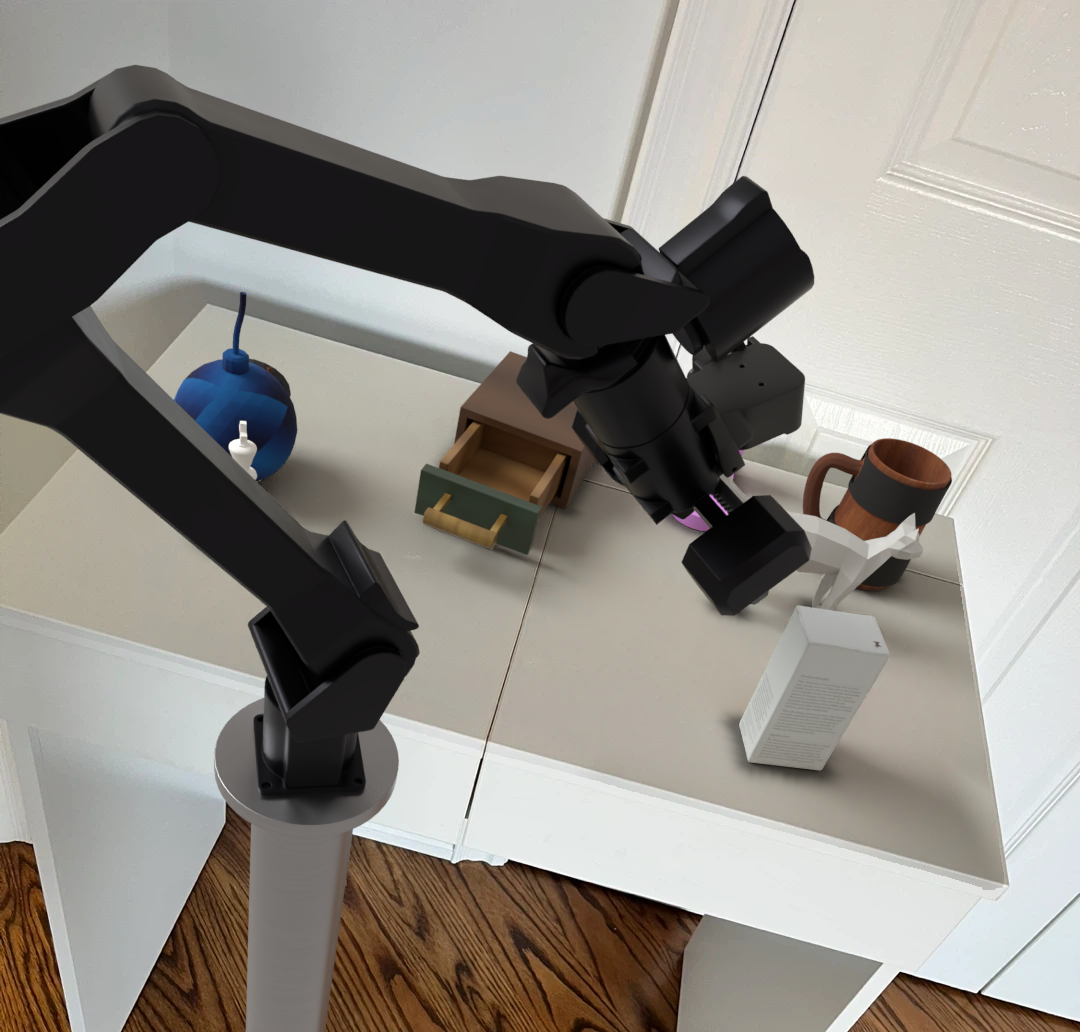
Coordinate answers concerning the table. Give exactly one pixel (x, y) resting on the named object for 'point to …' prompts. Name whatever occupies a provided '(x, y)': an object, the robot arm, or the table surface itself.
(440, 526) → the drawer
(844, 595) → the cat figurine
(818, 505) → the mug
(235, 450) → the chess piece
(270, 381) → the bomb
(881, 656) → the cosmetic box
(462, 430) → the cabinet
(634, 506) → the table surface
